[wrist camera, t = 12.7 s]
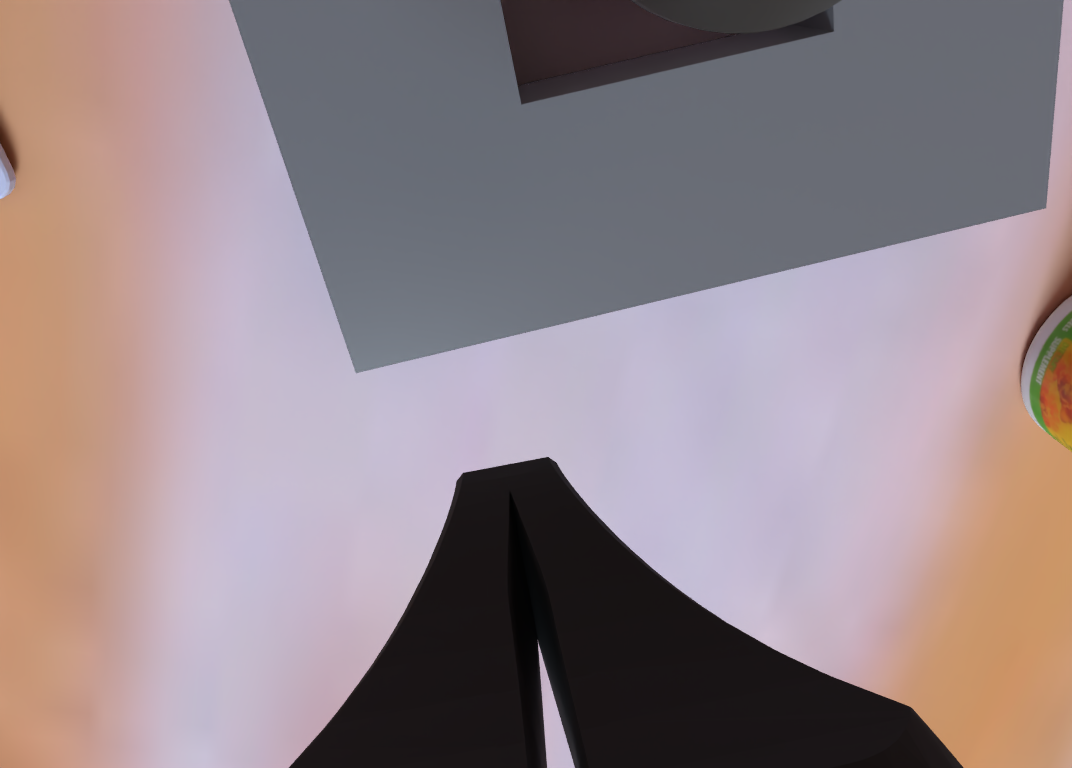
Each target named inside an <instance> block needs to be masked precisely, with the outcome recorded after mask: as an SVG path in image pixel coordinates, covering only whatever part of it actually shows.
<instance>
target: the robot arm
mask: <svg viewBox="0 0 1072 768" xmlns="http://www.w3.org/2000/svg"><path fill="white" fill-rule="evenodd" d="M15 182H16V177H15V174H14V170H13V168H12V166H11V164H10V162H9V160H8V158H7V156H6V154H5V152H4V150H3V148H2V146H1V143H0V199H1V198H3V197H5V196H7V195H9V194H10V193H11V192H12V190H13V189H14V188H15ZM538 642H539V646H540V649H541V653H542V656H543V660H544V663H545V667H546V670H547V673H548V677H549V680H550V684H551V687H552V691H553V694H554V697H555V701H556V704H557V708H558V711H559V714H560V718H561V721H562V725H563V728H564V731H565V735H566V738H567V742H568V745H569V748H570V752H571V755H572V759H573V762H574V766H575V768H963V767H962V765H961V764H960V763H959V762H958V761H957V759H956V758H955V757H954V756H953V755H952V754H951V752H950V751H949V750H948V749H947V748H946V746H945V745H944V744H943V743H942V742H941V741H940V739H939V738H938V737H937V736H936V735H935V734H934V733H933V731H932V730H931V729H930V728H929V727H928V726H927V725H926V723H925V722H924V721H923V720H922V719H921V718H920V717H919V715H918V714H917V713H916V712H915V711H914V710H913V709H912V708H911V707H909V706H907V705H904V704H901V703H899V702H896V701H894V700H891V699H888V698H886V697H883V696H881V695H878V694H875V693H873V692H870V691H868V690H865V689H862V688H860V687H857V686H855V685H852V684H849V683H847V682H844V681H842V680H839V679H836V678H834V677H831V676H829V675H827V674H825V673H822V672H820V671H818V670H816V669H814V668H812V667H809V666H807V665H805V664H803V663H801V662H799V661H797V660H795V659H792V658H790V657H788V656H786V655H784V654H782V653H780V652H778V651H776V650H774V649H772V648H770V647H769V646H767V645H765V644H763V643H762V642H760V641H758V640H756V639H755V638H753V637H751V636H749V635H748V634H746V633H744V632H742V631H741V630H739V629H737V628H735V627H733V626H732V625H730V624H728V623H726V622H725V621H723V620H722V619H720V618H719V617H717V616H716V615H714V614H713V613H711V612H710V611H708V610H707V609H705V608H704V607H702V606H701V605H699V604H698V603H696V602H695V601H694V600H692V599H691V598H690V597H688V596H687V595H685V594H684V593H683V592H681V591H680V590H679V589H677V588H676V587H675V586H673V585H672V584H671V583H670V582H668V581H667V580H666V579H664V578H663V577H662V576H661V575H660V574H658V573H657V572H656V571H655V570H654V569H652V568H651V567H650V566H649V565H648V564H647V563H645V562H644V561H643V560H642V559H641V558H640V557H639V556H638V555H636V554H635V553H634V552H633V551H632V550H631V549H630V548H629V547H628V546H627V545H626V544H625V543H624V542H622V541H621V540H620V539H619V538H618V537H617V536H616V535H615V534H614V533H613V532H612V531H611V530H610V528H609V527H608V526H607V525H606V524H605V523H604V522H603V521H602V520H601V519H600V518H599V517H598V516H597V515H596V514H595V513H594V512H593V511H592V509H591V508H590V507H589V506H588V505H587V504H586V503H585V501H584V500H583V499H582V498H581V497H580V495H579V494H578V493H577V492H576V491H575V489H574V488H573V487H572V485H571V484H570V483H569V481H568V480H567V479H566V477H565V476H564V474H563V473H562V471H561V470H560V468H559V467H558V465H557V463H556V462H555V461H553V460H552V459H550V458H549V457H546V458H540V459H535V460H530V461H524V462H519V463H514V464H508V465H503V466H498V467H492V468H487V469H482V470H477V471H471V472H466V473H463V474H462V475H461V476H460V478H459V479H458V480H457V482H456V488H455V492H454V496H453V500H452V504H451V507H450V510H449V513H448V516H447V519H446V522H445V524H444V527H443V530H442V533H441V535H440V537H439V540H438V542H437V545H436V547H435V549H434V552H433V554H432V557H431V559H430V561H429V564H428V566H427V568H426V570H425V573H424V575H423V577H422V579H421V581H420V583H419V585H418V586H417V588H416V590H415V592H414V594H413V596H412V598H411V600H410V602H409V604H408V606H407V608H406V610H405V612H404V614H403V615H402V617H401V619H400V621H399V622H398V624H397V626H396V628H395V629H394V631H393V633H392V634H391V636H390V638H389V639H388V641H387V643H386V644H385V646H384V647H383V649H382V650H381V652H380V653H379V655H378V656H377V658H376V659H375V661H374V663H373V664H372V666H371V667H370V668H369V670H368V671H367V673H366V674H365V675H364V677H363V678H362V679H361V681H360V682H359V684H358V685H357V686H356V688H355V689H354V690H353V692H352V693H351V695H350V696H349V697H348V699H347V700H346V701H345V703H344V704H343V705H342V707H341V708H340V709H339V710H338V712H337V713H336V714H335V715H334V717H333V718H332V719H331V720H330V722H329V723H328V724H327V725H326V727H325V728H324V729H323V730H322V731H321V732H320V733H319V735H318V736H317V737H316V738H315V739H314V740H313V741H312V742H311V744H310V745H309V746H308V747H307V748H306V749H305V750H304V751H303V752H302V754H301V755H300V756H299V757H298V758H297V759H296V760H295V761H294V763H293V764H292V765H291V766H290V767H289V768H547V762H546V748H545V734H544V720H543V706H542V693H541V679H540V665H539V652H538Z"/></svg>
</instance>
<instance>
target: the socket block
mask: <svg viewBox="0 0 1072 768" xmlns="http://www.w3.org/2000/svg"><path fill="white" fill-rule="evenodd" d="M229 1H230V4H231V7H232V10H233V13H234V16H235V19H236V22H237V25H238V28H239V31H240V34H241V37H242V40H243V43H244V46H245V49H246V51H247V54H248V57H249V60H250V63H251V66H252V69H253V72H254V75H255V78H256V81H257V84H258V87H259V90H260V93H261V96H262V98H263V101H264V104H265V107H266V110H267V113H268V116H269V119H270V122H271V125H272V128H273V131H274V134H275V137H276V140H277V143H278V145H279V148H280V151H281V154H282V157H283V160H284V163H285V166H286V169H287V172H288V175H289V178H290V181H291V184H292V187H293V190H294V192H295V195H296V198H297V201H298V204H299V207H300V210H301V213H302V216H303V219H304V222H305V225H306V228H307V231H308V234H309V237H310V240H311V242H312V245H313V248H314V251H315V254H316V257H317V260H318V263H319V266H320V269H321V272H322V275H323V278H324V281H325V284H326V287H327V289H328V292H329V295H330V298H331V301H332V304H333V307H334V310H335V313H336V316H337V319H338V322H339V325H340V328H341V331H342V334H343V336H344V339H345V342H346V345H347V348H348V351H349V354H350V357H351V360H352V363H353V366H354V369H355V372H356V373H359V372H363V371H367V370H371V369H375V368H379V367H384V366H388V365H392V364H396V363H400V362H405V361H409V360H413V359H417V358H421V357H425V356H430V355H434V354H438V353H442V352H446V351H451V350H455V349H459V348H463V347H467V346H471V345H476V344H480V343H484V342H488V341H492V340H497V339H501V338H505V337H509V336H513V335H517V334H522V333H526V332H530V331H534V330H538V329H543V328H547V327H551V326H555V325H559V324H563V323H568V322H572V321H576V320H580V319H584V318H589V317H593V316H597V315H601V314H605V313H609V312H614V311H618V310H622V309H626V308H630V307H635V306H639V305H643V304H647V303H651V302H655V301H660V300H664V299H668V298H672V297H676V296H681V295H685V294H689V293H693V292H697V291H701V290H706V289H710V288H714V287H718V286H722V285H727V284H731V283H735V282H739V281H743V280H747V279H752V278H756V277H760V276H764V275H768V274H773V273H777V272H781V271H785V270H789V269H794V268H798V267H802V266H806V265H810V264H814V263H819V262H823V261H827V260H831V259H835V258H840V257H844V256H848V255H852V254H856V253H860V252H865V251H869V250H873V249H877V248H881V247H886V246H890V245H894V244H898V243H902V242H906V241H911V240H915V239H919V238H923V237H927V236H932V235H936V234H940V233H944V232H948V231H952V230H957V229H961V228H965V227H969V226H973V225H978V224H982V223H986V222H990V221H994V220H998V219H1003V218H1007V217H1011V216H1015V215H1019V214H1024V213H1028V212H1032V211H1036V210H1040V209H1044V208H1046V203H1047V191H1048V179H1049V167H1050V155H1051V143H1052V131H1053V119H1054V107H1055V96H1056V84H1057V72H1058V60H1059V48H1060V36H1061V24H1062V12H1063V0H841V1H840V2H838V3H837V4H835V5H833V6H832V7H830V8H828V9H827V10H825V11H823V12H821V13H819V14H817V15H814V16H812V17H810V18H808V19H806V20H804V21H801V22H798V23H795V24H792V25H789V26H785V27H782V28H779V29H774V30H768V31H762V32H756V33H742V34H738V35H734V36H729V37H725V38H721V39H716V40H712V41H708V42H703V43H699V44H695V45H691V46H686V47H682V48H678V49H673V50H669V51H665V52H661V53H656V54H652V55H648V56H643V57H639V58H635V59H630V60H626V61H622V62H618V63H613V64H609V65H605V66H600V67H596V68H592V69H587V70H583V71H579V72H575V73H570V74H566V75H562V76H557V77H553V78H549V79H544V80H540V81H536V82H532V83H527V84H523V85H519V86H518V85H517V80H516V75H515V71H514V66H513V61H512V56H511V51H510V46H509V41H508V36H507V31H506V26H505V21H504V16H503V11H502V6H501V1H500V0H229Z"/></svg>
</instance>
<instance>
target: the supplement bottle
mask: <svg viewBox="0 0 1072 768" xmlns="http://www.w3.org/2000/svg"><path fill="white" fill-rule="evenodd" d="M1021 392H1022V397H1023V401H1024V404H1025V407H1026V409H1027V411H1028V413H1029V414H1030V416H1031V417H1032V419H1033V420H1034V421H1035V422H1036V423H1037V424H1038V425H1039V426H1040V427H1041V428H1042V429H1043V430H1044V431H1046V432H1047V433H1048V434H1049V435H1051V436H1052V437H1053V438H1054V439H1055V440H1057V441H1058V442H1059V443H1061V444H1062V445H1063V446H1065V447H1066V448H1067V449H1069V450H1070V451H1071V452H1072V296H1070V297H1069V298H1068V299H1066V300H1065V301H1064V302H1063V303H1062V304H1061V305H1060V306H1059V307H1058V308H1057V309H1056V310H1055V311H1054V312H1053V313H1052V314H1051V315H1050V316H1049V318H1048V319H1047V320H1046V321H1045V323H1044V324H1043V325H1042V327H1041V328H1040V329H1039V331H1038V333H1037V334H1036V336H1035V337H1034V339H1033V341H1032V343H1031V345H1030V347H1029V350H1028V352H1027V354H1026V357H1025V361H1024V365H1023V369H1022V375H1021Z"/></svg>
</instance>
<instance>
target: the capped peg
mask: <svg viewBox="0 0 1072 768" xmlns="http://www.w3.org/2000/svg"><path fill="white" fill-rule="evenodd" d="M631 1H632V2H634V3H635V4H637V5H638V6H640V7H642V8H643V9H645V10H646V11H648V12H650V13H652V14H655V15H657V16H659V17H661V18H663V19H666V20H668V21H671V22H674V23H678V24H681V25H685V26H688V27H692V28H696V29H700V30H705V31H713V32H720V33H728V34H729V33H756V32H762V31H768V30H774V29H779V28H782V27H785V26H789V25H792V24H795V23H798V22H801V21H804V20H806V19H808V18H810V17H812V16H814V15H817V14H819V13H821V12H823V11H825V10H827V9H828V8H830V7H832V6H833V5H835V4H837V3H838V2H840V1H841V0H631Z"/></svg>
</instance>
